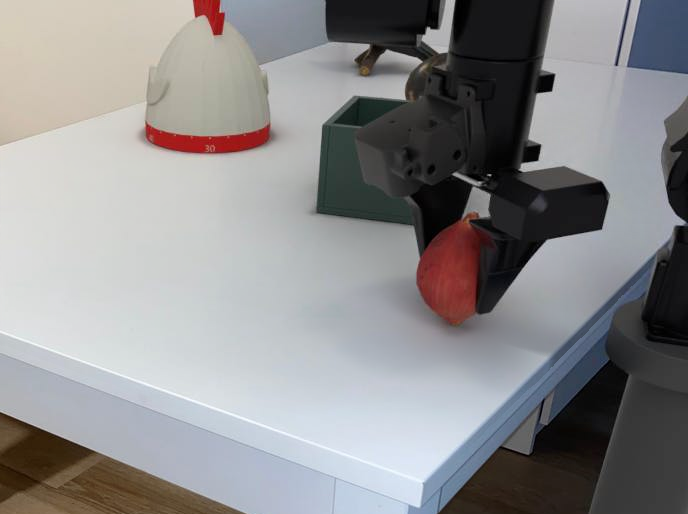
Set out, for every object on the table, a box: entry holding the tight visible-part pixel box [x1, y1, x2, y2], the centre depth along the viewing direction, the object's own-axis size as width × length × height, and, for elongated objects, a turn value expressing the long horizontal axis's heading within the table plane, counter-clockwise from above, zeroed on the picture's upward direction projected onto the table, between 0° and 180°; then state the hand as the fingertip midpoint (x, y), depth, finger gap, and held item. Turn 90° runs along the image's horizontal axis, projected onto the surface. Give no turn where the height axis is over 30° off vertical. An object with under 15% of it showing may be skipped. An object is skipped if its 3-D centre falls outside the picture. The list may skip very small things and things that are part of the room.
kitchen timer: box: [144, 0, 271, 154], centre depth 106 cm, size 14×14×15 cm
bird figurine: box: [324, 0, 440, 77], centre depth 134 cm, size 13×10×20 cm
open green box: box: [315, 94, 414, 226], centre depth 91 cm, size 11×11×8 cm
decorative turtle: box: [404, 51, 448, 101], centre depth 112 cm, size 10×15×8 cm, turn 174°
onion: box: [415, 211, 481, 326], centre depth 69 cm, size 6×6×8 cm
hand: (456, 296), depth 70 cm, fingers closed on onion, 6 cm apart
